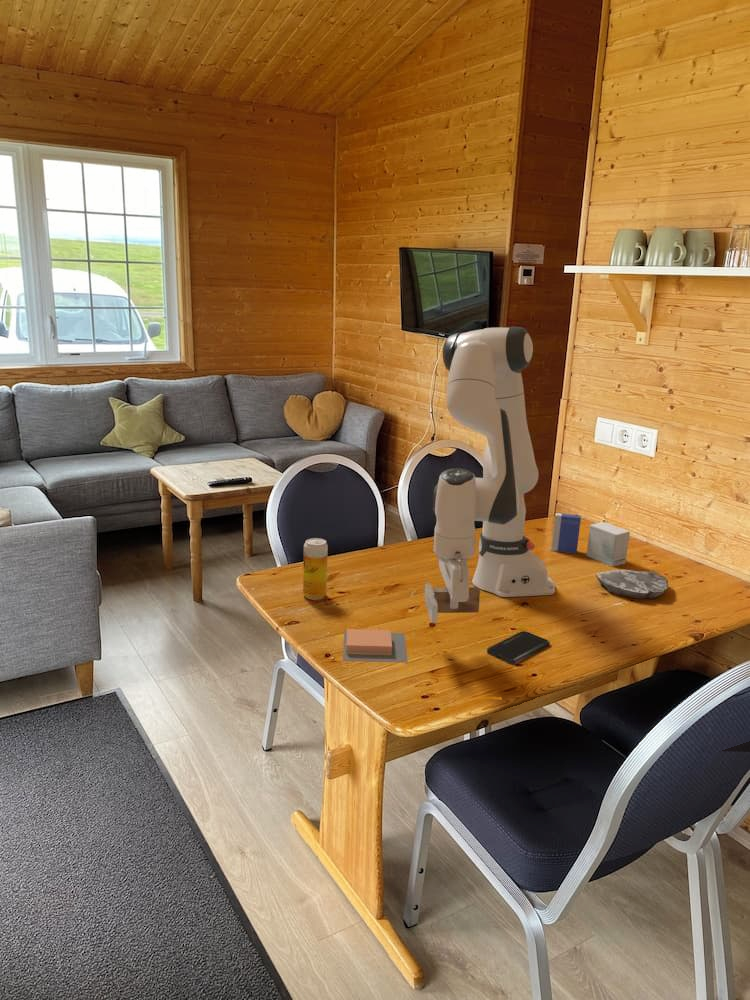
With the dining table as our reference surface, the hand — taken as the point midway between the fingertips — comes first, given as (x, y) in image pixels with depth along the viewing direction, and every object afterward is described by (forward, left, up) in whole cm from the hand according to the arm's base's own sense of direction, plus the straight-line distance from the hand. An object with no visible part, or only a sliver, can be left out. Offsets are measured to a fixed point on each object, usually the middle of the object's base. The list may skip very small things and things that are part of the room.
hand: (452, 603), depth 169 cm
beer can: (+32, -28, -12) cm, 44 cm away
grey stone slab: (-56, -39, -12) cm, 70 cm away
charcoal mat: (+17, 0, -12) cm, 20 cm away
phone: (-16, -2, -12) cm, 20 cm away
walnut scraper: (0, 0, -2) cm, 2 cm away
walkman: (-44, -69, -12) cm, 83 cm away
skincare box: (-55, -62, -12) cm, 84 cm away
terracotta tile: (+13, 0, -10) cm, 16 cm away
